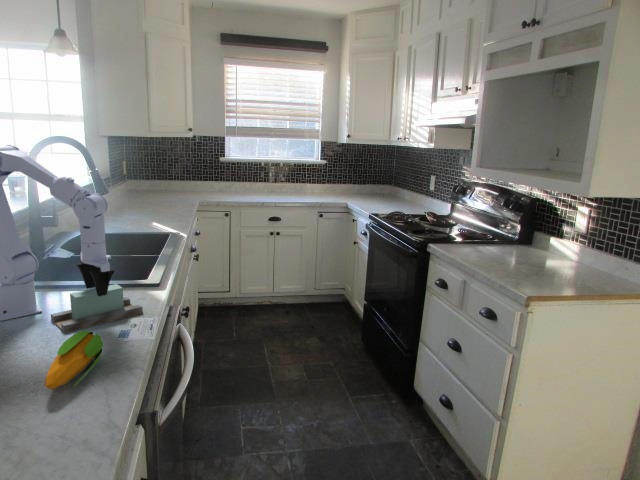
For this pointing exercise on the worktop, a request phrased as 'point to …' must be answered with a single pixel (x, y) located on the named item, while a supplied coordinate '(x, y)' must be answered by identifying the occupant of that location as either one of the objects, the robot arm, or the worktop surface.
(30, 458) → the worktop surface
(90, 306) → the green block
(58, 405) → the worktop surface
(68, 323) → the track
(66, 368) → the corn
